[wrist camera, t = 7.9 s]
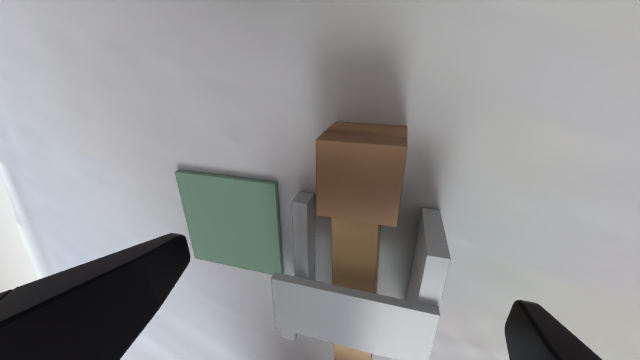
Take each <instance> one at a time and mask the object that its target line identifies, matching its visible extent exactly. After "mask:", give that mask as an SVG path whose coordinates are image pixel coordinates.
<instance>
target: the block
mask: <svg viewBox="0 0 640 360" xmlns="http://www.w3.org/2000/svg"><path fill="white" fill-rule="evenodd" d="M406 152H407V126H397V125H380V124H363V123H346V122H335V123H334V124H332V125H331V126H330V127H329V128H328V129H327V130H326V131H325V132H324V133H323V134H322V135H321V136H319V137H318V138H317V139H316V215H318V216H324V217H331V218H338V219H344V220H351V221H358V222H364V223H371V224H378V225H384V226H391V227H397V220H398V213H399V205H400V198H401V190H402V183H403V175H404V167H405V160H406Z"/></svg>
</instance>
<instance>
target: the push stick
mask: <svg viewBox="0 0 640 360" xmlns="http://www.w3.org/2000/svg"><path fill="white" fill-rule="evenodd" d="M380 228H381V225H378V224H371V223H364V222H358V221H351V220H344V219H338V218H331V230H332V273H333V285H336V286H341V287H345V288H350V289H355V290H359V291H364V292H369V293H374V294H376V292H377V276H378V260H379V244H380ZM334 360H372V354H371V353H367V352H363V351H360V350H356V349H352V348H348V347H345V346H341V345H337V344H334Z"/></svg>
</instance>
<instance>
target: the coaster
mask: <svg viewBox="0 0 640 360" xmlns="http://www.w3.org/2000/svg"><path fill="white" fill-rule="evenodd" d="M175 175H176V179H177V183H178V188H179V192H180V196H181V200H182V205H183V209H184V213H185V217H186V222H187V226H188V230H189V234H190V239H191V243H192V247H193V251H194V256H195V258H197V259H202V260H207V261H211V262H216V263H221V264H225V265H230V266H234V267H239V268H244V269H248V270H253V271H258V272H262V273H267V274H272V275H274V273H280V274H283V273H284V272H283V258H282V243H281V229H280V215H279V201H278V186H277V182H272V181H264V180H256V179H248V178H240V177H232V176H224V175H216V174H207V173H199V172H191V171H183V170H178V171H176V172H175Z"/></svg>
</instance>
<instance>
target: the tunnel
mask: <svg viewBox="0 0 640 360" xmlns="http://www.w3.org/2000/svg"><path fill="white" fill-rule="evenodd" d="M292 221H293V242H294V263H295V277H294V276H289V275H284V274H280V273H274V275H273V276H272V278H271V283H272V294H273V304H274V315H275V325H276V328H277V329H280V337H281V338H285V339H289V340H292V341H295V339H296V337H297V334H300V335H304V336H307V337H311V338H315V339H319V340H322V341H326V342H330V343H333V344H337V345H341V346H345V347H348V348H352V349H356V350H360V351H363V352H367V353H371V354H375V355H378V356H382V357H386V358H390V359H393V360H429V357H430V353H431V349H432V345H433V341H434V337H435V333H436V329H437V325H438V321H439V317H440V313H439V305H440V301H441V296H442V292H443V288H444V284H445V280H446V276H447V272H448V268H449V264H450V260H451V258H450V254H449V249H448V245H447V240H446V236H445V231H444V226H443V222H442V217H441V213H440V210H436V209H428V208H422V211H421V217H420V223H419V228H418V234H417V240H416V245H415V251H414V257H413V262H412V268H411V274H410V279H409V285H408V291H407V296H406V300H402V299H397V298H392V297H388V296H383V295H378V294H374V293H369V292H364V291H359V290H355V289H350V288H345V287H341V286H336V285H331V284H327V283H322V282H317V281H315V251H314V193H306V192H299V193H298V194H297V196H296V197H295V198H294V200H293V201H292Z"/></svg>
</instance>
